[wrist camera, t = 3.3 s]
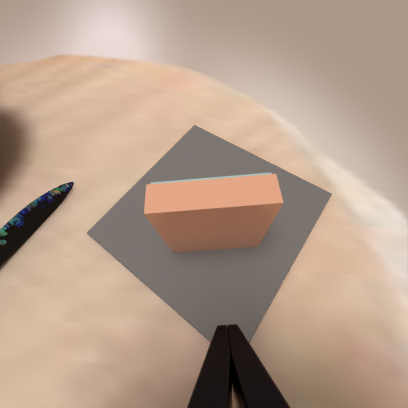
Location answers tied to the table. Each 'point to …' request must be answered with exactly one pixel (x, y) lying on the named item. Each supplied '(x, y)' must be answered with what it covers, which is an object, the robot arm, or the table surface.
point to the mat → (212, 259)
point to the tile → (213, 211)
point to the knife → (30, 220)
